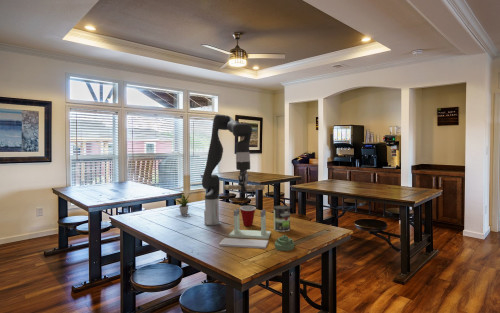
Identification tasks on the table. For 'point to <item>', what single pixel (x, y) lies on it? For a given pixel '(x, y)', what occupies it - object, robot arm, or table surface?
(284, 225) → the coffee can
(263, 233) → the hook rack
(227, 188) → the rail
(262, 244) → the mat
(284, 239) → the decorative artifact
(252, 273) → the table surface
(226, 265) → the table surface
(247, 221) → the plastic cup
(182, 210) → the house plant
